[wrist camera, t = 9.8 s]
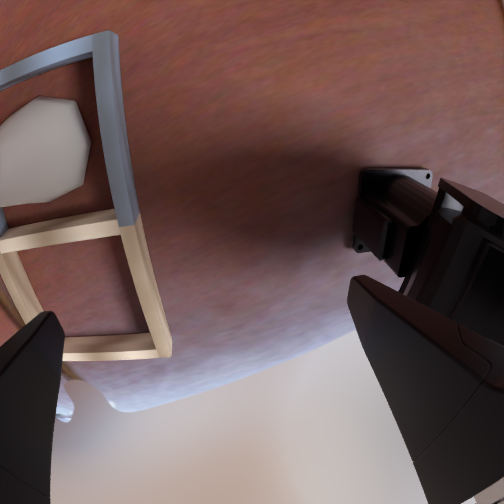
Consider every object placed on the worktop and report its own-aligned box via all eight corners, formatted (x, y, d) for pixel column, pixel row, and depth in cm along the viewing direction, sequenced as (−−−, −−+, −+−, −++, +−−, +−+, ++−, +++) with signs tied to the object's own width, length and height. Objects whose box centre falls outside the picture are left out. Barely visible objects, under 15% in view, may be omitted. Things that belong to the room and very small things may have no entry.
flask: (99, 195, 18) (31, 286, 9) (13, 205, 17) (-68, 285, 8) (90, 84, 14) (-7, 91, 6) (0, 107, 13) (-105, 142, 5)
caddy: (118, 35, 13) (109, 30, 11) (172, 339, 25) (171, 356, 23) (-29, 92, 12) (-45, 95, 10) (53, 345, 23) (47, 360, 22)
